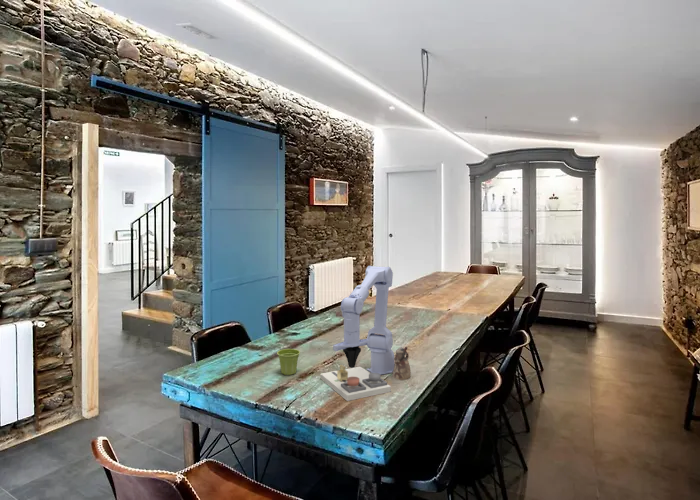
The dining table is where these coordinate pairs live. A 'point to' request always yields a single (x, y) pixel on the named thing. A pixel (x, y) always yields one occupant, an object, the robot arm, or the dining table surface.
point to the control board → (355, 392)
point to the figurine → (401, 365)
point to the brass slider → (342, 373)
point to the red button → (353, 381)
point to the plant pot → (288, 360)
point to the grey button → (374, 377)
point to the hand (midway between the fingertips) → (351, 367)
